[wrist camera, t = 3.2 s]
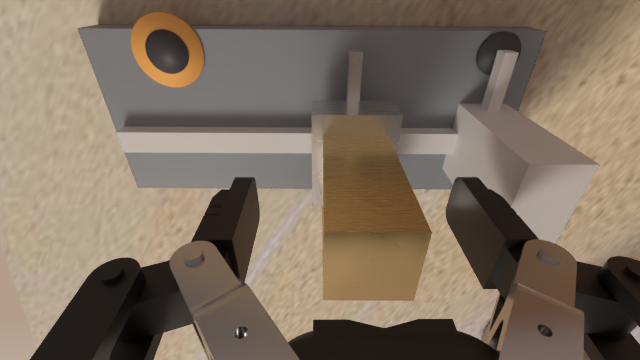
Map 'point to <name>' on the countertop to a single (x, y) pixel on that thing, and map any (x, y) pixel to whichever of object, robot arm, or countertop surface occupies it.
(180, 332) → the countertop surface
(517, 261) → the robot arm
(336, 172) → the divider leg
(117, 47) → the bolt plate
